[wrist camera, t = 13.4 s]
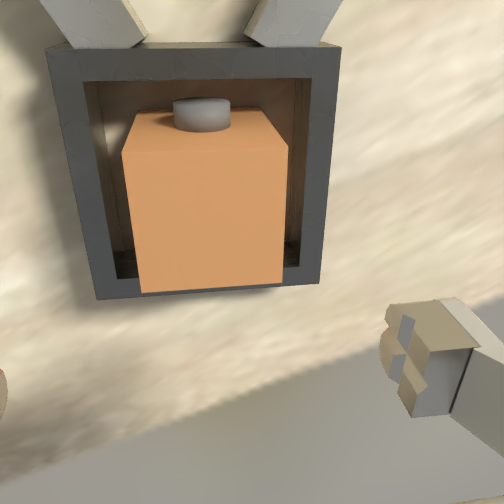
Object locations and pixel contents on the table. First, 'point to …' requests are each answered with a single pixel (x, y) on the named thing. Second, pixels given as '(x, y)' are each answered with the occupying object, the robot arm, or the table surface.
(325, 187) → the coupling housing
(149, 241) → the block
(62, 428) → the table surface
